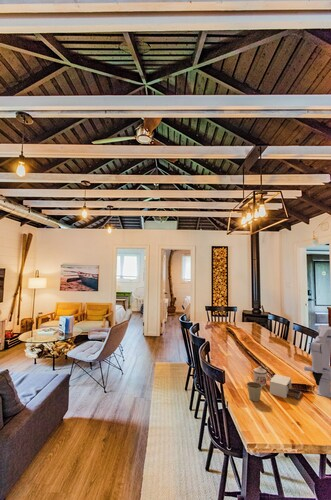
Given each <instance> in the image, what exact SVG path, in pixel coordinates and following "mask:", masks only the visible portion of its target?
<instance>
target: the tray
mask: <svg viewBox="0 0 331 500" xmlns="http://www.w3.org/2000/svg"><path fill="white" fill-rule="evenodd" d="M288 390H289V392H288V394H287V398H290V399H295V400H298V401H300V398H301V397H302V395H303V392H302V391H300V390H296V389H293V388H291V389H289V388H288Z"/></svg>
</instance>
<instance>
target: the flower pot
mask: <svg viewBox="0 0 331 500" xmlns="http://www.w3.org/2000/svg"><path fill="white" fill-rule="evenodd" d="M246 386H247V391H248V398H249V400H250V401H253V402H259V401H260V400H261V393H262V389H263V386H262V385H261V384H260V383H257V382H254V381H248V382H246Z"/></svg>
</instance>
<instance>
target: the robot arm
mask: <svg viewBox="0 0 331 500" xmlns="http://www.w3.org/2000/svg"><path fill="white" fill-rule="evenodd" d="M317 331H318V335H317V336H316V337H315V339H314V341H312V342H311V343H310V347H309V348H310V355H311V366H309V367H308V366H304V367H303V369H304V370H303V371H305V372H306V371H307V372H311V373H312V377H313V379H314V381H315V385H316V386H317V392H316V395H319V396H323V397H326V398H331V366H330V359H331V326H327V325H321V324H319V325H318V328H317Z"/></svg>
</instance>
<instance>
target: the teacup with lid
mask: <svg viewBox="0 0 331 500" xmlns="http://www.w3.org/2000/svg"><path fill="white" fill-rule="evenodd" d="M252 371H253V382H257V383H260V384H261V385H262V387H265V386H267V383H268V382H267V381H270V380H271V379H272V375H271V373H270V372H269V373H268V372H267V370H266V369H264V368H262V366H260V365H259V366H258V367H256V368H253V369H252ZM267 375H268V378H267Z"/></svg>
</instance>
